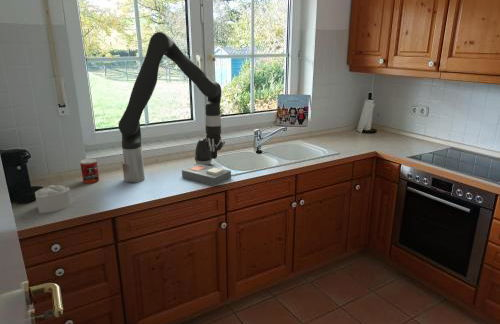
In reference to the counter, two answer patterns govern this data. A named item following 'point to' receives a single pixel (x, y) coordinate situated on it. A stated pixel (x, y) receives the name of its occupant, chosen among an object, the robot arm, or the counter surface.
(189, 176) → the key console
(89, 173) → the canned food
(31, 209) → the counter surface
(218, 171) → the white key
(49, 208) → the lumpy-topped squat cylinder
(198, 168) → the red key
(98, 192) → the counter surface
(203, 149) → the pump dispenser
